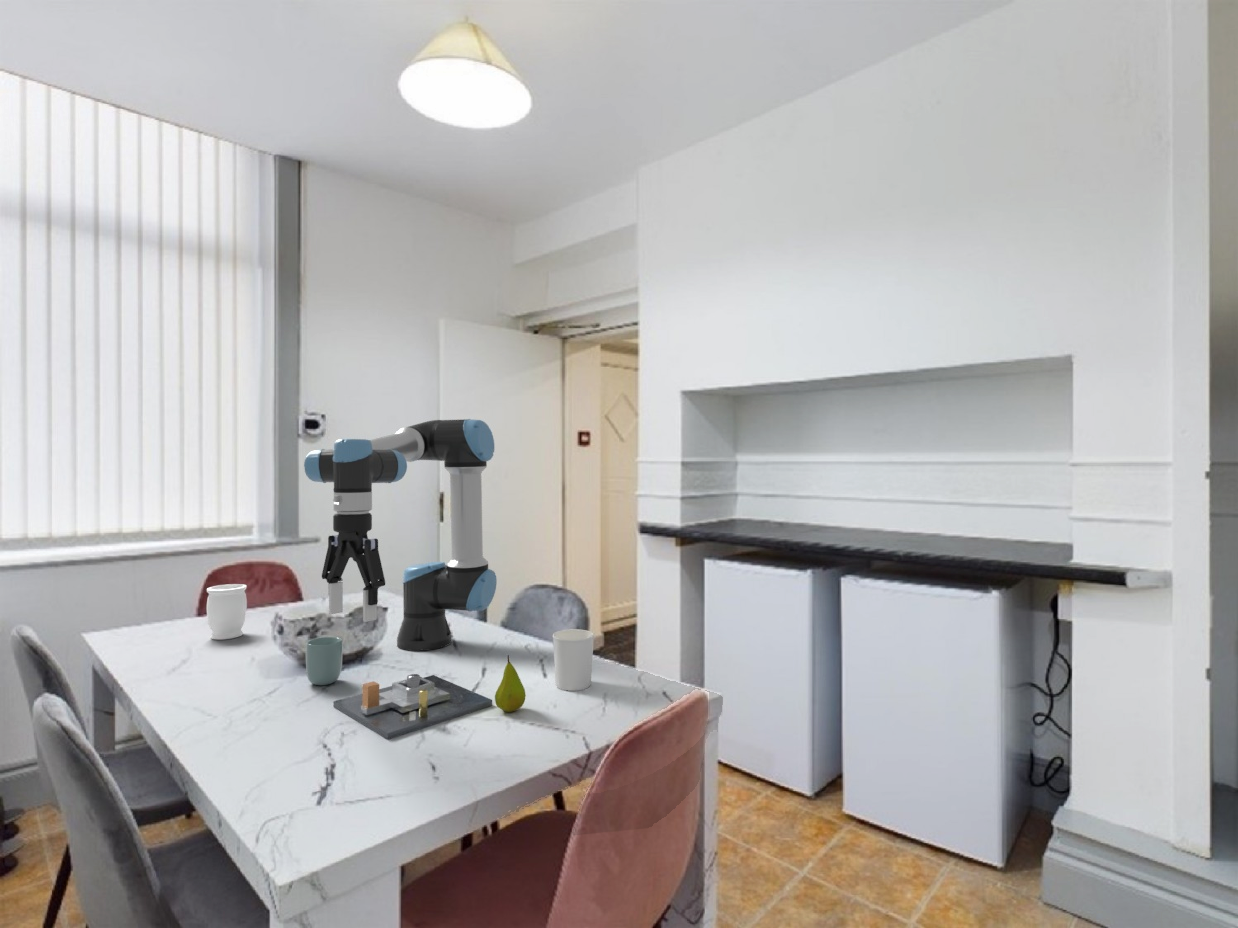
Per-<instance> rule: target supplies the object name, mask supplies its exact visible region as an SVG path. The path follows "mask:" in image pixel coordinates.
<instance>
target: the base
mask: <svg viewBox="0 0 1238 928" xmlns="http://www.w3.org/2000/svg"><path fill="white" fill-rule="evenodd" d="M420 677H421V676H420V674H417V673H412V674H408V675H407V676H406V679H407V688H412V687H415V686H419V685H420ZM423 678H424V679H427V680H429V681H431V682H434V687H436V688H439V689H441V690H443V691H445V692H448V693H450V699H448V700H444V701H441V702H438V703H434V704H431V705H428V706H427V716H426V717H419V708H418V709H414V710H411V711H408V712H404V713H401V712H399V711H398V710H396V709H394V708H390V709H386V710H383V711H379V712H376V713H372V714H369V715H366V714H364V713H362V712H361V706H362V696H363V693H360V694H356V695H352V696H348V697H344V698H340V699H337V700H334V701H333V708H334V709H336V710H338V711H340V712H341V713H343V714H345V715H346V716H348V717H350V718H351V719H352V720H355V721H357V722H358V723H360V724H361V725H363V726H364V727H366V728H368V729H369V730H370V731H373V732H374V733H376V734H378V735H380V736H381V737H383V738H384V739H386V740H390V739H394V738H398V737H400V736H403V735H406V734H409V733H413V732H415V731H418V730H422V729H424V728H427V727H431V726H433V725H436V724H440V723H443V722H446V721H449V720H453V719H455V718H459V717H461V716H465V715H467V714H470V713H474V712H477V711H480V710H482V709H486V708H489V707H492V706H493V699H491V698H488V697H486V696H483V695H481V694H479V693H478V692H474V691H473V690H470V689H468V688H465V687H462V686H461V685H458V684H455V683H453V682H451V681H448V680H446V679H443V678H441V677H439V676H437V675H435V674H432V675H427V676H424V677H423ZM390 690H392V685H390V686H386V687H383V688H379V693H382V692H386V691H390Z"/></svg>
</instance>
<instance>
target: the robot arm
mask: <svg viewBox="0 0 1238 928" xmlns="http://www.w3.org/2000/svg"><path fill="white" fill-rule="evenodd" d="M494 453H495V439H494V435H493V432H492V431H491V428H490V427H489V425H488V424H487V422H485V421H484V420H481V419H471V418H468V419H465V418H464V419H434V420H433V419H432V420H428V421H424V422H419V423H416V424H413V425H409V426H405V427H402V428H400V429H399V430H398V431H397V430H396V432H395V433H393V434H392V433H391V434H390V435H386V436H382V437H381V436H380V437H375V438H373V439H366V438H365V439H361V438H360V439H359V438H339V439H337V440H336V441H334V445H333V448H332V449H325V448H322V449H321V448H320V449H314V450H312V451H310V452H308V454H307V455H306V457H305V459H304V461H303V467H304V468H303V469H304V474H305V475H306V477H307V478H308V479H309V480H311V481H312V482H315V483H323V484H326V483H333V500H332V501H333V511H334V512H336V513H334V514H333V516H332V524H333V525H332V528H333V531H334V532H336V533H338V534H335V535H334V534H332V535H328V538H327V541H328V542H327V545H328V546H327V548H326V549H327V550H326V555H325V559H324V564H323V568H322V573H321V578H322V580H326V582H327V583H328V609H329V610H328V614H329V615H334V614H335V615H337V614H341V613H343V612H344V611H343V608H344V607H343V606H344V605H343V601H344V598H343V592H344V588H343V586H344V585H343V578H342V576H343V574H344V571H345V569H346V567H347V564H348V562H349V560H350V558H351V559H352V560H353V562H355V563H356V564H357V568H358V570H359V573H360V576H361V578H362V581H363V583H364V588H363V589H362V590H363V591H362V622H363V623H366V622H371V621H376V620H377V617H378V615H377V613H378V607H377V606H378V602H379V601H378V600H379V599H378V597H379V596H378V595H379V593H378V591H379V588H381V587H385V586H386V580H385V579H386V578H385V574H384V571H383V565H382V561H381V555H380V552H379V540H378V538H371V539H370V538H369V537H368V532H369V531H371V530H372V529H373V514H371V513H370V511H372V510H373V492H372V491H373V490H372V485H373V484H392V483H395V482H398V481H400V480H402V479H403V478H404V476H405V475H406V473H407V469H408V463H409V462H410V463H412V462H415V461H438V462H444V469H445V470H446V471H447V472H449V477H450V479H449V482H450V484H449V485H450V536H451V539H450V541H451V558H450V560H448V562H447V563H445V561H434V562H427V563H421V564H416V565H411V566H409V567H407V568H405V570H404V571H403V581H402V584H403V586H402V588H403V590H402V591H403V592H402V593H403V597H402V598H403V619H402V623H401V624H400V628H399V632H398V634H397V637H396V647H398V648H399V649H401V650H405V651H417V652H418V651H430V650H436V649H441V648H443V647H447V646H448V645H450V644H451V643H452V632H451V629H450V626H449V623H448V620H447V618H446V610H453V611H467V612H481V611H485V610H487V608H488V607H489V606H490V604H492V602H493V599H494V597H495V594H496V590H497V575H496V572H495V570H492V569H491V568H490V569H489V561H488V560H487V559H486V558H485V557H484V556H483V555H484V554H483V553H484V552H483V502H482V501H483V500H482V498H483V497H482V495H483V494H482V492H483V491H482V490H483V489H482V488H483V487H482V473H483V471H484V470H485V469H486V468H487V464H488V463H487V462H489V461H490V460H492V458H493V457H494ZM407 462H408V463H407Z"/></svg>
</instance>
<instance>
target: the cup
mask: <svg viewBox="0 0 1238 928" xmlns="http://www.w3.org/2000/svg"><path fill="white" fill-rule="evenodd" d="M305 668H306V669H305V670H306V675H307V680H308V681H309V682H310V684H312V685H315V686H327V685H331V684H333V683H335V682H336V681H337V680H338V679H339V678H340V676H341V674H342V673H341V672H342V668H343V639H342V638H341V637H338V636H321V637H316V638H312V639H310V640H308V641H307V642H305Z"/></svg>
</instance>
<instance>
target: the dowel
mask: <svg viewBox="0 0 1238 928" xmlns="http://www.w3.org/2000/svg"><path fill="white" fill-rule="evenodd" d="M426 716H427V690H420V691H419V717H426Z"/></svg>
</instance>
